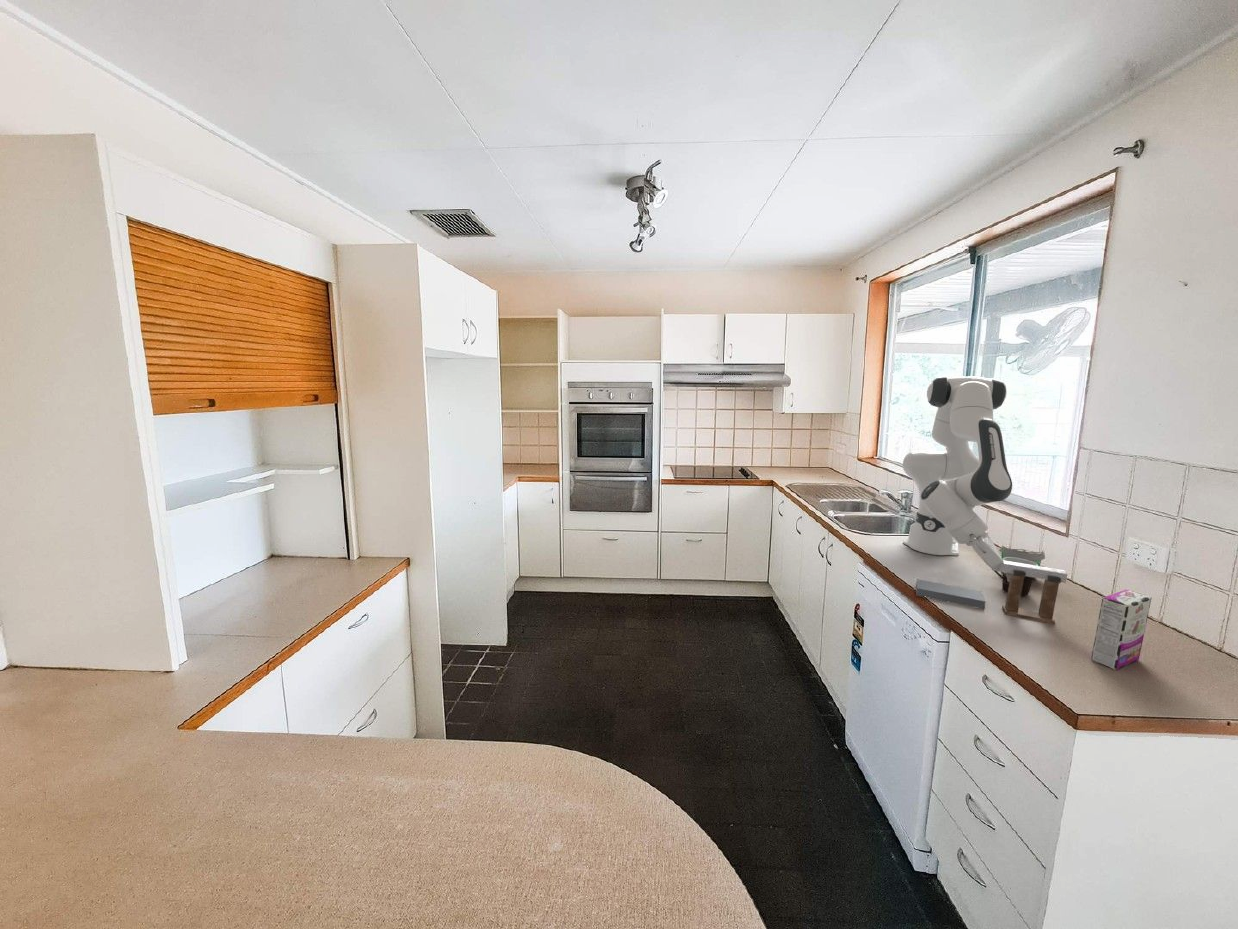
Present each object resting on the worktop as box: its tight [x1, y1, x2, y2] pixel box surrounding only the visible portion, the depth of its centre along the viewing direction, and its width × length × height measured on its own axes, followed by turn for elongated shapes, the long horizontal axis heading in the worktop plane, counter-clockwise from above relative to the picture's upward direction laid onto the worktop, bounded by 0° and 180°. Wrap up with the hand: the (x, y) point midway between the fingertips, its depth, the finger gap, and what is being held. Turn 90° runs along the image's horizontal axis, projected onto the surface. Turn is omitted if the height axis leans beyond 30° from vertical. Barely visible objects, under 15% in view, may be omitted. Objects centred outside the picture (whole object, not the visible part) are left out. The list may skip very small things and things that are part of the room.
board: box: [915, 578, 986, 610], centre depth 149 cm, size 17×8×2 cm, turn 60°
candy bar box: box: [1090, 589, 1153, 671], centre depth 115 cm, size 11×5×16 cm, turn 114°
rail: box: [991, 560, 1068, 584], centre depth 137 cm, size 16×3×3 cm, turn 60°
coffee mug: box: [993, 557, 1038, 598], centre depth 154 cm, size 12×9×10 cm
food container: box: [998, 544, 1046, 582], centre depth 163 cm, size 12×6×10 cm, turn 68°
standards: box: [1001, 571, 1062, 625], centre depth 137 cm, size 11×5×13 cm, turn 60°
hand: (1005, 568), depth 139 cm, fingers closed on rail, 3 cm apart
